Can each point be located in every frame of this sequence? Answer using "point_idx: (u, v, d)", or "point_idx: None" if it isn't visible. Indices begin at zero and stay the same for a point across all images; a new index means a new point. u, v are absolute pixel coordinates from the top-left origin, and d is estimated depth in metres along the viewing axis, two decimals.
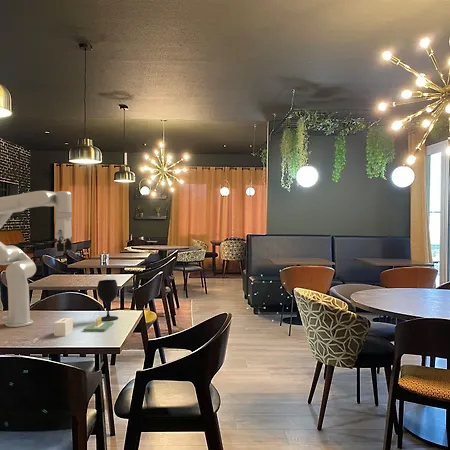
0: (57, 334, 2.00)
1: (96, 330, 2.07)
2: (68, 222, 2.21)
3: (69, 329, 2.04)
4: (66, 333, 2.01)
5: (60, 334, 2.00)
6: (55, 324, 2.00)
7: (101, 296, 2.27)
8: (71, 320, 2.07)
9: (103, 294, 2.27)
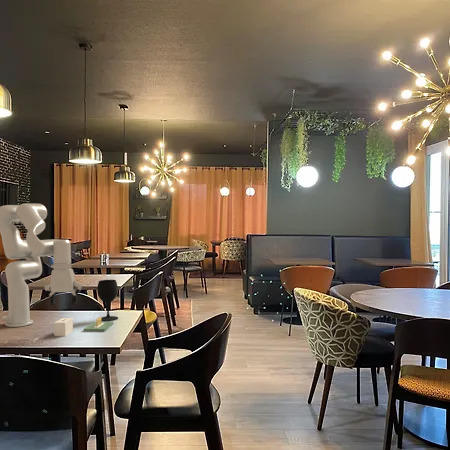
0: (57, 334, 2.00)
1: (96, 330, 2.07)
2: None
3: (69, 329, 2.04)
4: (66, 333, 2.01)
5: (60, 334, 2.00)
6: (55, 324, 2.00)
7: (101, 296, 2.27)
8: (71, 320, 2.07)
9: (103, 294, 2.27)
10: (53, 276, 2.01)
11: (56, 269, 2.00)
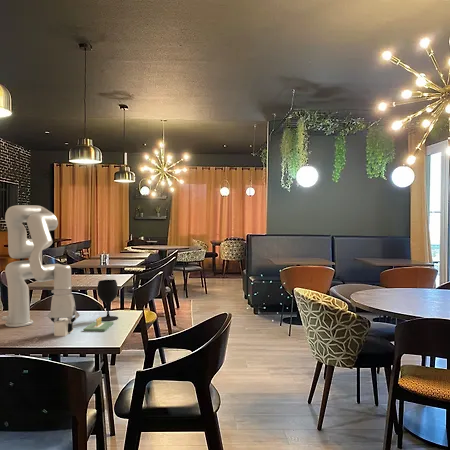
0: (57, 334, 2.00)
1: (96, 330, 2.07)
2: None
3: None
4: (66, 333, 2.01)
5: (60, 334, 2.00)
6: (55, 324, 2.00)
7: (101, 296, 2.27)
8: None
9: (103, 294, 2.27)
10: (53, 302, 2.02)
11: (56, 295, 2.01)
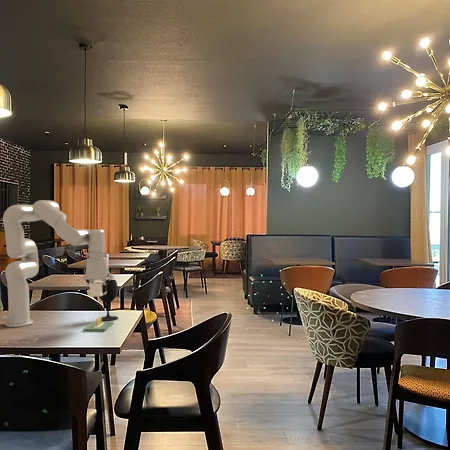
0: (93, 294, 2.09)
1: (96, 330, 2.07)
2: None
3: None
4: (101, 294, 2.10)
5: (96, 294, 2.09)
6: (91, 285, 2.09)
7: (101, 296, 2.27)
8: None
9: None
10: (88, 264, 2.11)
11: (92, 257, 2.10)
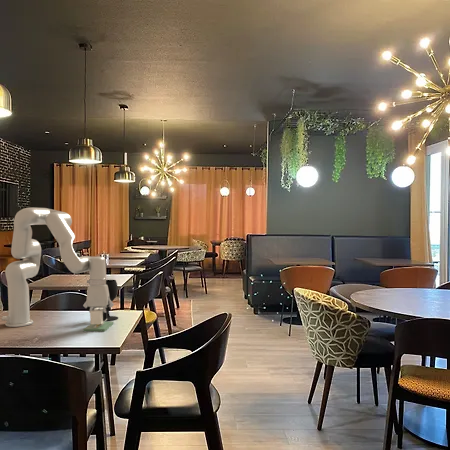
0: (93, 322, 2.09)
1: (96, 330, 2.07)
2: None
3: None
4: (101, 321, 2.10)
5: (96, 322, 2.09)
6: (91, 313, 2.09)
7: None
8: None
9: None
10: (89, 291, 2.11)
11: (92, 285, 2.10)
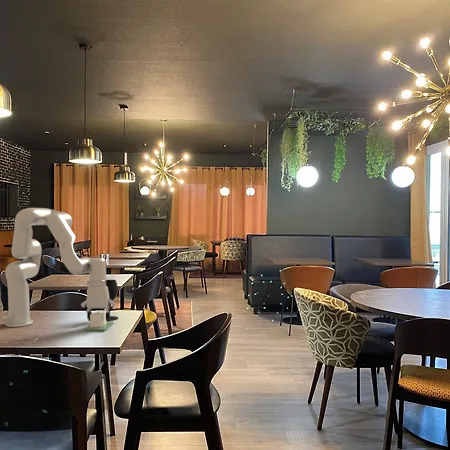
0: (93, 325, 2.09)
1: (96, 330, 2.07)
2: None
3: (103, 320, 2.13)
4: (101, 325, 2.10)
5: (96, 325, 2.09)
6: (91, 316, 2.09)
7: None
8: (105, 312, 2.17)
9: None
10: (89, 293, 2.11)
11: (92, 286, 2.10)
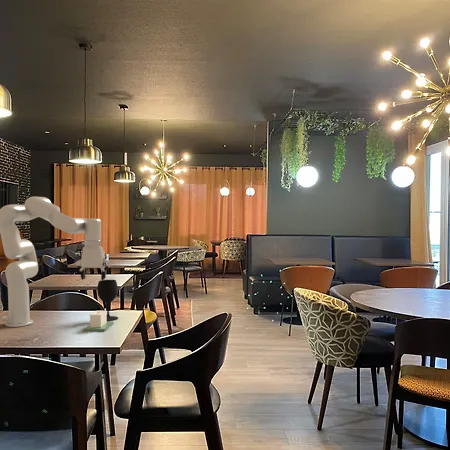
0: (93, 325, 2.09)
1: (96, 330, 2.07)
2: None
3: (103, 320, 2.13)
4: (101, 325, 2.10)
5: (96, 325, 2.09)
6: (91, 316, 2.09)
7: (101, 296, 2.27)
8: (105, 312, 2.17)
9: (103, 294, 2.27)
10: (84, 252, 2.12)
11: (87, 246, 2.11)
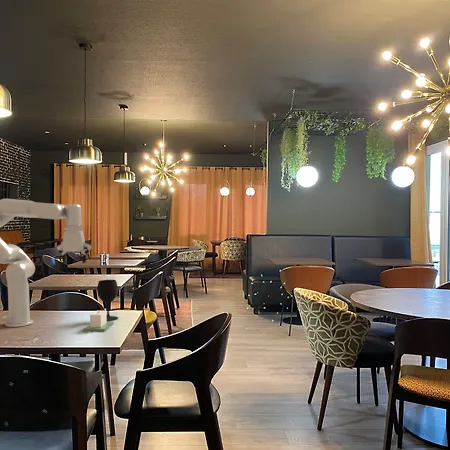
0: (93, 325, 2.09)
1: (96, 330, 2.07)
2: None
3: (103, 320, 2.13)
4: (101, 325, 2.10)
5: (96, 325, 2.09)
6: (91, 316, 2.09)
7: (101, 296, 2.27)
8: (105, 312, 2.17)
9: (103, 294, 2.27)
10: (65, 237, 2.21)
11: (68, 230, 2.20)
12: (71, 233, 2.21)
